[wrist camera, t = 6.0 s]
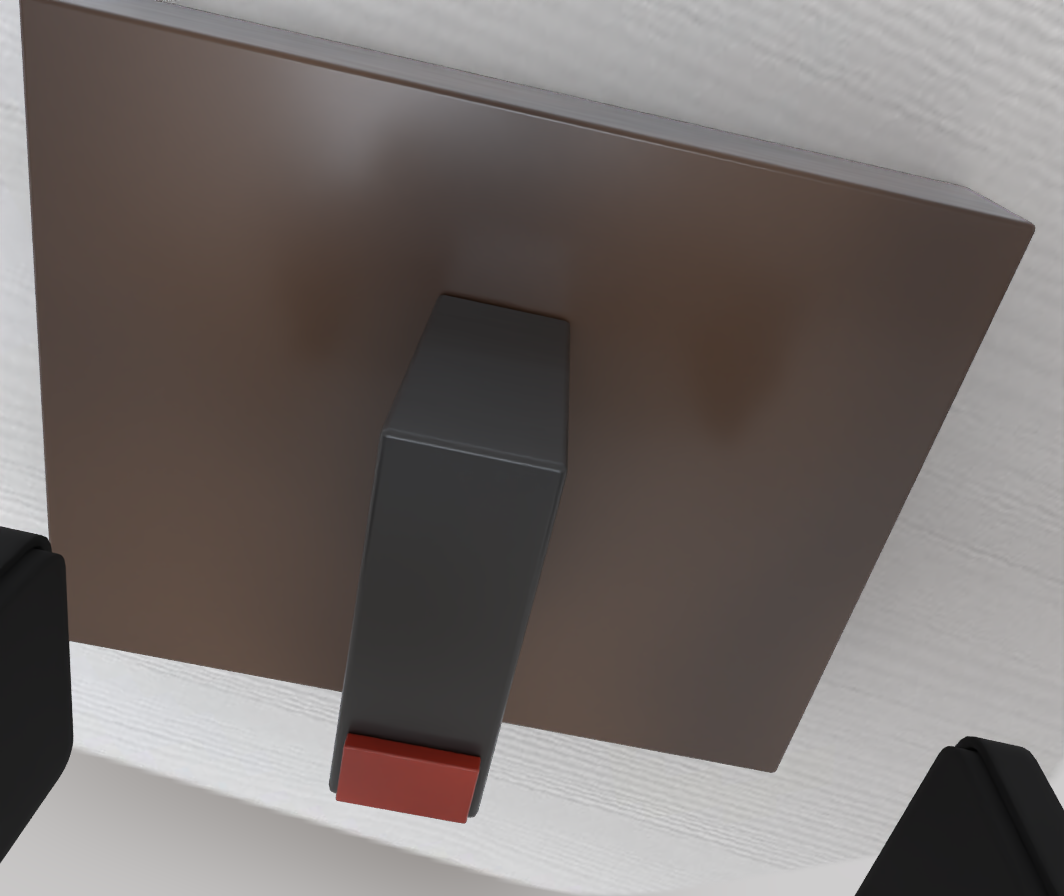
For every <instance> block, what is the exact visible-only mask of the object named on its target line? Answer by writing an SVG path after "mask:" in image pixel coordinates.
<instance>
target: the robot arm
mask: <svg viewBox="0 0 1064 896" xmlns="http://www.w3.org/2000/svg"><path fill="white" fill-rule="evenodd" d="M72 746H73V718H72V696H71V674H70V651H69V629H68V607H67V584H66V565H65V560H64V558H63V556H62V555H60V554H58V553H53V552H52V548H51V543H50V542H49V540H48V539H47V537H44V536H42V535H38V534H33V533H29V532H24V531H20V530H15V529H10V528H6V527H1V526H0V863H1V861H2V860H3V858H4V857H5V856H6V854H7V853H8V851H9V850H10V848H11V847H12V845H13V844H14V843H15V841H16V840H17V838H18V837H19V835H20V834H21V832H22V831H23V829H24V828H25V827H26V825H27V824H28V822H29V821H30V819H31V818H32V816H33V815H34V814H35V812H36V810H37V809H38V808H39V806H40V805H41V803H42V802H43V800H44V799H45V798H46V796H47V795H48V793H49V792H50V790H51V789H52V787H53V786H54V784H55V783H56V782H57V780H58V779H59V777H60V775H61V774H62V772H63V770H64V769H65V767H66V764H67V762H68V760H69V757H70V754H71V750H72ZM855 896H1064V810H1063V808H1062V806H1061V804H1060V803H1059V801H1058V799H1057V797H1056V795H1055V793H1054V791H1053V789H1052V788H1051V786H1050V784H1049V782H1048V780H1047V779H1046V777H1045V775H1044V773H1043V771H1042V769H1041V768H1040V766H1039V764H1038V762H1037V760H1036V759H1035V758H1034V756H1033V755H1032V754H1031V752H1030V751H1028V750H1026V749H1025V748H1023V747H1020V746H1015V745H1010V744H1006V743H1001V742H996V741H992V740H987V739H983V738H978V737H970V736H967V737H965V738H963V739H961V740H960V741H959V742H958V744H957V745H956V746H955V747H953V746H947V747H945V748H944V749H942V751H941V752H940V753H939V755H938V756H937V758H936V760H935V761H934V763H933V765H932V766H931V768H930V770H929V771H928V773H927V775H926V776H925V778H924V780H923V781H922V783H921V785H920V787H919V788H918V790H917V792H916V793H915V795H914V797H913V798H912V800H911V802H910V803H909V805H908V807H907V808H906V810H905V812H904V814H903V815H902V817H901V819H900V820H899V822H898V824H897V825H896V827H895V829H894V830H893V832H892V834H891V835H890V837H889V839H888V841H887V842H886V844H885V846H884V847H883V849H882V851H881V852H880V854H879V856H878V857H877V859H876V861H875V862H874V864H873V866H872V868H871V869H870V871H869V873H868V874H867V876H866V878H865V879H864V881H863V883H862V884H861V886H860V888H859V890H858V891H857V893H856V894H855Z"/></svg>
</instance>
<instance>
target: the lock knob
mask: <svg viewBox="0 0 1064 896" xmlns="http://www.w3.org/2000/svg"><path fill="white" fill-rule="evenodd" d="M569 378H570V324H569V323H568V322H566V321H563V320H558V319H554V318H549V317H545V316H540V315H535V314H531V313H526V312H521V311H517V310H512V309H507V308H503V307H498V306H493V305H489V304H484V303H479V302H475V301H470V300H466V299H461V298H456V297H452V296H447V295H441V296H439V297H438V299H437V301H436V303H435V305H434V308H433V310H432V313H431V315H430V317H429V320H428V322H427V324H426V327H425V329H424V331H423V334H422V336H421V338H420V341H419V343H418V345H417V348H416V350H415V352H414V355H413V357H412V359H411V362H410V364H409V366H408V369H407V371H406V373H405V376H404V378H403V381H402V383H401V385H400V388H399V390H398V392H397V395H396V397H395V399H394V402H393V404H392V406H391V409H390V411H389V413H388V416H387V418H386V420H385V423H384V425H383V427H382V430H381V432H380V437H379V444H378V450H377V457H376V464H375V471H374V478H373V485H372V492H371V499H370V505H369V512H368V519H367V526H366V533H365V540H364V547H363V553H362V560H361V567H360V574H359V581H358V588H357V595H356V602H355V608H354V615H353V622H352V629H351V636H350V643H349V650H348V656H347V663H346V670H345V677H344V684H343V691H342V698H341V705H340V711H339V718H338V725H337V732H336V739H335V746H334V753H333V759H332V766H331V773H330V780H329V787H330V791H332V792H333V793H336V800H337V801H341V802H347V803H352V804H358V805H363V806H369V807H374V808H380V809H385V810H391V811H396V812H402V813H407V814H413V815H419V816H424V817H430V818H435V819H441V820H446V821H452V822H457V823H463V824H465V823H466V821H467V817H474V816H475V815H476V814H477V812H478V810H479V806H480V803H481V799H482V795H483V791H484V787H485V784H486V780H487V776H488V772H489V769H490V765H491V761H492V757H493V753H494V750H495V746H496V742H497V738H498V734H499V731H500V727H501V723H502V719H503V716H504V712H505V708H506V704H507V700H508V697H509V693H510V689H511V685H512V681H513V678H514V674H515V670H516V666H517V662H518V659H519V655H520V651H521V647H522V644H523V640H524V636H525V632H526V628H527V625H528V621H529V617H530V613H531V609H532V606H533V602H534V598H535V594H536V591H537V587H538V583H539V579H540V575H541V572H542V568H543V564H544V560H545V556H546V553H547V549H548V545H549V541H550V537H551V534H552V530H553V526H554V522H555V519H556V515H557V511H558V507H559V503H560V500H561V496H562V492H563V488H564V484H565V481H566V477H567V473H568V434H569Z"/></svg>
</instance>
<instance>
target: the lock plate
mask: <svg viewBox="0 0 1064 896" xmlns="http://www.w3.org/2000/svg"><path fill="white" fill-rule="evenodd" d="M19 4H20V22H21V41H22V59H23V77H24V95H25V113H26V131H27V149H28V167H29V185H30V203H31V222H32V240H33V258H34V276H35V294H36V312H37V330H38V348H39V366H40V384H41V402H42V421H43V439H44V457H45V475H46V493H47V511H48V529H49V542H50V543H51V548H52V552H53V553H58V554H60V555H62V556H63V558H64V560H65V565H66V584H67V607H68V629H69V641H73V642H79V643H84V644H89V645H95V646H100V647H105V648H110V649H116V650H121V651H126V652H132V653H137V654H142V655H148V656H153V657H158V658H164V659H169V660H174V661H180V662H185V663H190V664H196V665H201V666H206V667H212V668H217V669H222V670H227V671H233V672H238V673H243V674H249V675H254V676H259V677H265V678H270V679H275V680H281V681H286V682H291V683H297V684H302V685H307V686H313V687H318V688H323V689H329V690H334V691H339V692H342V691H343V684H344V677H345V670H346V663H347V656H348V650H349V643H350V636H351V629H352V622H353V615H354V608H355V602H356V595H357V588H358V581H359V574H360V567H361V560H362V553H363V547H364V540H365V533H366V526H367V519H368V512H369V505H370V499H371V492H372V485H373V478H374V471H375V464H376V457H377V450H378V444H379V437H380V432H381V430H382V427H383V425H384V423H385V420H386V418H387V416H388V413H389V411H390V409H391V406H392V404H393V402H394V399H395V397H396V395H397V392H398V390H399V388H400V385H401V383H402V381H403V378H404V376H405V373H406V371H407V369H408V366H409V364H410V362H411V359H412V357H413V355H414V352H415V350H416V348H417V345H418V343H419V341H420V338H421V336H422V334H423V331H424V329H425V327H426V324H427V322H428V320H429V317H430V315H431V313H432V310H433V308H434V305H435V303H436V301H437V299H438V297H439V296H441V295H447V296H452V297H456V298H461V299H466V300H470V301H475V302H479V303H484V304H489V305H493V306H498V307H503V308H507V309H512V310H517V311H521V312H526V313H531V314H535V315H540V316H545V317H549V318H554V319H558V320H563V321H566V322H568V323H569V324H570V378H569V434H568V473H567V477H566V481H565V484H564V488H563V492H562V496H561V500H560V503H559V507H558V511H557V515H556V519H555V522H554V526H553V530H552V534H551V537H550V541H549V545H548V549H547V553H546V556H545V560H544V564H543V568H542V572H541V575H540V579H539V583H538V587H537V591H536V594H535V598H534V602H533V606H532V609H531V613H530V617H529V621H528V625H527V628H526V632H525V636H524V640H523V644H522V647H521V651H520V655H519V659H518V662H517V666H516V670H515V674H514V678H513V681H512V685H511V689H510V693H509V697H508V700H507V704H506V708H505V712H504V716H503V719H502V722H504V723H509V724H515V725H520V726H525V727H531V728H536V729H541V730H547V731H552V732H557V733H563V734H568V735H573V736H578V737H584V738H589V739H594V740H600V741H605V742H610V743H616V744H621V745H626V746H632V747H637V748H642V749H648V750H653V751H658V752H664V753H669V754H674V755H680V756H685V757H690V758H695V759H701V760H706V761H711V762H717V763H722V764H727V765H733V766H738V767H743V768H749V769H754V770H759V771H765V772H770V773H773V772H775V771H776V770H777V768H778V766H779V764H780V762H781V759H782V757H783V755H784V753H785V751H786V749H787V747H788V745H789V743H790V741H791V739H792V737H793V734H794V732H795V730H796V728H797V726H798V724H799V722H800V720H801V718H802V716H803V714H804V711H805V709H806V707H807V705H808V703H809V701H810V699H811V697H812V695H813V693H814V691H815V689H816V686H817V684H818V682H819V680H820V678H821V676H822V674H823V672H824V670H825V668H826V666H827V664H828V661H829V659H830V657H831V655H832V653H833V651H834V649H835V647H836V645H837V643H838V641H839V639H840V636H841V634H842V632H843V630H844V628H845V626H846V624H847V622H848V620H849V618H850V616H851V613H852V611H853V609H854V607H855V605H856V603H857V601H858V599H859V597H860V595H861V593H862V591H863V588H864V586H865V584H866V582H867V580H868V578H869V576H870V574H871V572H872V570H873V568H874V566H875V563H876V561H877V559H878V557H879V555H880V553H881V551H882V549H883V547H884V545H885V543H886V540H887V538H888V536H889V534H890V532H891V530H892V528H893V526H894V524H895V522H896V520H897V518H898V515H899V513H900V511H901V509H902V507H903V505H904V503H905V501H906V499H907V497H908V495H909V493H910V490H911V488H912V486H913V484H914V482H915V480H916V478H917V476H918V474H919V472H920V470H921V468H922V465H923V463H924V461H925V459H926V457H927V455H928V453H929V451H930V449H931V447H932V445H933V442H934V440H935V438H936V436H937V434H938V432H939V430H940V428H941V426H942V424H943V422H944V420H945V417H946V415H947V413H948V411H949V409H950V407H951V405H952V403H953V401H954V399H955V397H956V395H957V392H958V390H959V388H960V386H961V384H962V382H963V380H964V378H965V376H966V374H967V372H968V370H969V367H970V365H971V363H972V361H973V359H974V357H975V355H976V353H977V351H978V349H979V347H980V344H981V342H982V340H983V338H984V336H985V334H986V332H987V330H988V328H989V326H990V324H991V322H992V319H993V317H994V315H995V313H996V311H997V309H998V307H999V305H1000V303H1001V301H1002V299H1003V297H1004V294H1005V292H1006V290H1007V288H1008V286H1009V284H1010V282H1011V280H1012V278H1013V276H1014V274H1015V271H1016V269H1017V267H1018V265H1019V263H1020V261H1021V259H1022V257H1023V255H1024V253H1025V251H1026V249H1027V246H1028V244H1029V242H1030V240H1031V238H1032V236H1033V234H1034V232H1035V225H1033V224H1032V223H1031V222H1029V221H1027V220H1025V219H1024V218H1022V217H1020V216H1018V215H1016V214H1015V213H1013V212H1011V211H1009V210H1007V209H1006V208H1004V207H1002V206H1000V205H998V204H996V203H995V202H993V201H991V200H989V199H987V198H986V197H984V196H982V195H980V194H978V193H976V192H975V191H973V190H971V189H969V188H967V187H963V186H959V185H955V184H950V183H946V182H942V181H937V180H933V179H929V178H924V177H920V176H916V175H911V174H907V173H903V172H898V171H894V170H890V169H885V168H881V167H877V166H872V165H868V164H863V163H859V162H855V161H850V160H846V159H842V158H837V157H833V156H829V155H824V154H820V153H816V152H811V151H807V150H803V149H798V148H794V147H790V146H785V145H781V144H777V143H772V142H768V141H764V140H759V139H755V138H751V137H746V136H742V135H738V134H733V133H729V132H725V131H720V130H716V129H712V128H707V127H703V126H699V125H694V124H690V123H686V122H681V121H677V120H673V119H668V118H664V117H660V116H655V115H651V114H647V113H642V112H638V111H634V110H629V109H625V108H621V107H616V106H612V105H608V104H603V103H599V102H595V101H590V100H586V99H582V98H577V97H573V96H569V95H564V94H560V93H556V92H551V91H547V90H543V89H538V88H534V87H530V86H525V85H521V84H517V83H512V82H508V81H504V80H499V79H495V78H491V77H486V76H482V75H478V74H473V73H469V72H465V71H460V70H456V69H452V68H447V67H443V66H439V65H434V64H430V63H426V62H421V61H417V60H413V59H408V58H404V57H400V56H395V55H391V54H387V53H382V52H378V51H374V50H369V49H365V48H361V47H356V46H352V45H348V44H343V43H339V42H335V41H330V40H326V39H322V38H317V37H313V36H309V35H304V34H300V33H296V32H291V31H287V30H283V29H278V28H274V27H270V26H265V25H261V24H257V23H252V22H248V21H244V20H239V19H235V18H231V17H226V16H222V15H218V14H213V13H209V12H205V11H200V10H196V9H192V8H187V7H183V6H179V5H174V4H170V3H166V2H161V1H157V0H19Z"/></svg>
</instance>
